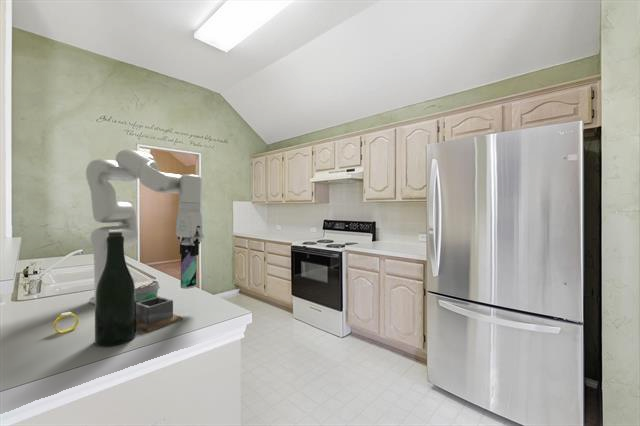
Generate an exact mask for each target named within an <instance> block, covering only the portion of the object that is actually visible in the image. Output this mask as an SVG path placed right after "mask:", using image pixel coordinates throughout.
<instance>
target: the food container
mask: <svg viewBox="0 0 640 426" xmlns="http://www.w3.org/2000/svg"><path fill="white" fill-rule="evenodd" d="M159 289H160V284H159V281H157V280H152V282H151V283H148V284H144V285H141V286H138V287H137V288H136V287H135V293H136V303H137V302H141V301H144V300H148V299H151V298H155V297H158V290H159Z"/></svg>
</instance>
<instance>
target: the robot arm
mask: <svg viewBox="0 0 640 426" xmlns="http://www.w3.org/2000/svg"><path fill="white" fill-rule="evenodd" d="M159 169H160V168H159V165H158V163H157V162H156V160H155V157H153V156H152V154H149V153H147V152H143V151H139V150H134V149H123V150H119V151H117V153H116V155H115V159H107V158H97V159H93V160H91V161H89V163H88V165H87V167H86V170H85V176H86V181H87V184H88V187H89V190H90V197H91V198H90V199H91V209H92V217H93V219H94V221H95V222H96V223H98V224H113V223H114V224H118V225H108V226H100V227H97V228H94V230H93V231H92V232H91V234H90V236H89V238H90V244H91V248H92V252H93V279H94V281H93V286H94V295H93V297H91V298H90V299H89V303H90V304H93V305H95V293H96V287H97V283H98V281H99V279H100V276H101V274H102V272H103V269H104V266H105V263H106V256H107V242H106V239H107V237H109V235H108V234H109V233H110V232H122V236H123V237H124V247H129V246H132V245H134V244H135V243H136V242H137V240H138V235H139V234H138V221H137V212H136V209H135V207H134V206H133V204H132V203H130V202H127V201H118V200H117V195H116V193H117V192H116V189H115V188H114V186H113V185H112V184H111V183H110V182H109V181H118V182H121V181H122V182H132V181H133V182H134V181H136V180H137V179H139V181H140V183H141V184H142V185H143V186H144V187H146V188H148V189H150V190H152V191H154V192H155V193H160V194H174V195H177V194H178V195H179V197H178V199H179V202H178V212H177V216H176V223H175V235H176V236H177V239H178V244H179V254H180V255H181V243H182V241H183V240H185V238H190V239H191V244H192V245H191V246H190V256H199V253H200V252H199V248H200V245H201V242H202V240H204V238H205V236H204V235H203V217H202V210H201V209H202V177H201V176H200V175H196V174H176V173H170V172H162V171H159ZM194 240H195V241H194Z"/></svg>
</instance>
